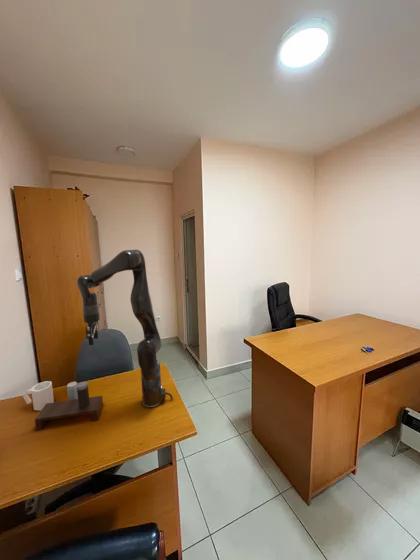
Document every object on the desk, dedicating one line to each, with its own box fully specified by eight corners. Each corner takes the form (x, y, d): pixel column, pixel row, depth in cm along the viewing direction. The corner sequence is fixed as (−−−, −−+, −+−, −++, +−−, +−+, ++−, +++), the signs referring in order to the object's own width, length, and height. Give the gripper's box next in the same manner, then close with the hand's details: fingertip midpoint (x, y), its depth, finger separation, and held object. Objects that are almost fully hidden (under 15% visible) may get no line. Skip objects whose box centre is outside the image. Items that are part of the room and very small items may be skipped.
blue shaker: (80, 399, 114) (78, 381, 113) (77, 405, 110) (75, 386, 109) (70, 400, 113) (68, 382, 112) (67, 406, 109) (65, 387, 108)
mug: (57, 397, 116) (54, 379, 114) (50, 408, 108) (47, 389, 106) (29, 401, 113) (27, 383, 111) (20, 414, 104) (17, 394, 103)
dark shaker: (90, 400, 105) (88, 380, 104) (88, 407, 101) (85, 386, 100) (80, 402, 105) (78, 382, 103) (77, 408, 100) (75, 388, 99)
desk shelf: (103, 404, 110) (102, 395, 109) (97, 419, 100) (96, 409, 99) (47, 413, 105) (46, 403, 104) (36, 429, 95) (34, 419, 94)
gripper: (95, 315, 113) (97, 346, 115) (102, 308, 127) (104, 335, 129) (78, 316, 111) (81, 348, 113) (87, 309, 125) (90, 337, 127)
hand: (93, 341), depth 121 cm, fingers open, 8 cm apart
